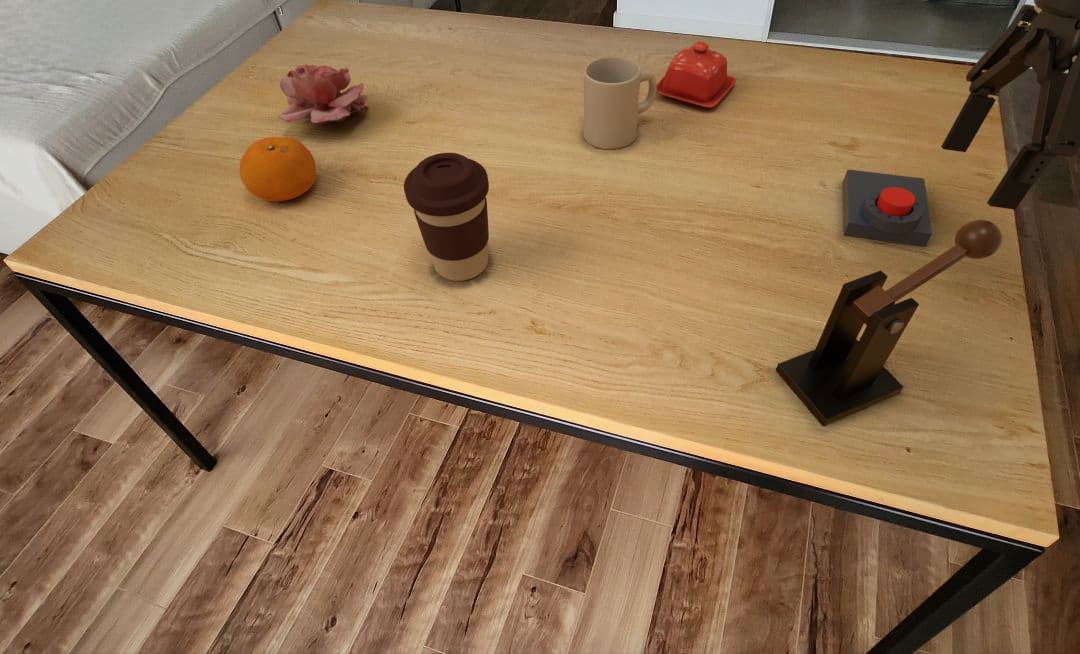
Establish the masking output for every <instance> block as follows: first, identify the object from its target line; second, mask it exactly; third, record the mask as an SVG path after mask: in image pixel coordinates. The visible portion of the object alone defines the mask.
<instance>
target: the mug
mask: <svg viewBox="0 0 1080 654" xmlns="http://www.w3.org/2000/svg"><path fill="white" fill-rule="evenodd" d="M646 81H648V91H647V95H646V98H645V99H644V100H642V101H641V102H640V92H641V91H640V89H641V88H640V87H641V83H643V82H646ZM656 85H657V79H656V75H655V74H654V73H653V71H651V70H649V69H645V70H644V69H643V70H641V67H640V66H639V64H638V63H637V62H635V61H633V60H632V59H630V58H626V57H621V56H619V57H618V56H606V57H600V58H597V59H594V60H592V61H590V62H588V63H587V65H586V66H585V68H584V70H583V131H582V132H583V139H584V140H585V141H586V142H587V143H588V144H589V145H590V146H592V147H594V148H596V149H602V150H619V149H622V148H626V147H627V146H629V145H631V144H632V143H634V141H635V139H636V137H637V133H638V119H639V118H638V117H639V114H642V113H644V112H647V111H648V110H649V109H650V108H651V107H652V106H653V104H654V102H655V99H656V94H657V93H656Z"/></svg>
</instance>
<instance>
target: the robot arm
mask: <svg viewBox="0 0 1080 654" xmlns="http://www.w3.org/2000/svg"><path fill="white" fill-rule="evenodd" d="M1033 3H1034V5H1033V4H1025V3H1024V4H1023V5H1021V7H1020V8H1019V10H1018V11H1017V13H1016V15H1015V17H1014V18H1013V20H1012V21H1011V23H1010V24H1009V25H1008V27H1007V28H1006V29H1005V30H1004V31H1003V33H1002V34H1000V36H999V37H998V38H997V39H996V40H995V42H994V43H993V44H992V45H991V46H990V47H989V48H988V49H987V51H986V52H985V53H984V54H983V55H982V56H981V57H980V58H979V60H978V61H977V62H976V63H975V64H974V65H973V66H972V67H971V68H970V69H969V71H968V72H967V74H966V76H965V80H966V81H965V82H969V83H970V85H969V88H968V92H969V95H968V96H967V98H966V100H965V102H964V105H963V106H962V107H961V109H960V111H959V113H958V115H957V117H956V119H955V121H954V122H953V124H952V126H951V128H950V130H949V131H948V133H947V135H946V136H945V138H944V141H943V142H942V144H941V146H940V148H941V149H943V150H947V151H953V152H960V153H966V152H968V149H969V147H970V146H971V144H972V142H973V141H974V139H975V137H976V136H977V134H978V132H979V130H980V128H981V127H982V125H983V123H984V122H985V121H986V118H987V116H988V115H989V113H990V112H991V109H992V108H993V106H994V105H995V102H996V101H997V100H996V98H995V97H1000V93H1001V92H1000V90H1002V89H1003V88H1004V87H1006V86H1007V85H1008V84H1010V83H1012V82H1013V81H1014V80H1015V79H1017V78H1018V77H1020V76H1021V75H1023V74H1024V73H1025V72H1026V71H1028V70H1030V69H1032V71H1033V72H1034V73H1035V74H1036V82H1037V83H1038V84H1039V85H1040V87H1039V94H1038V99H1037V106H1036V110H1035V111H1036V112H1035V118H1034V123H1033V124H1034V125H1033V130H1032V136H1031V143H1027V144H1025V145H1022V147H1021V149H1020V150H1019V152H1018V153H1017V155H1015V156H1016V157H1015V158H1014V160H1013V161H1012V163H1011V164H1010V165H1009V167H1008V169H1007V170H1006V172H1005V173H1004V175H1003V177H1002V178H1001V180H1000V181H999V183H998V184H997V186H996V188H995V189H994V191H993V192H992V194H991V195H990V197H989V198H988V200H987V202H986V203H987V204H988V206H989V207H994V208H1001V209H1006V210H1007V209H1008V210H1014V211H1016V210H1017V209H1018V207H1019V205H1020V204H1021V203H1022V201H1023V199H1025V197H1026V196H1027V194H1028V192H1029V191H1030V189H1031V188H1032V186H1034V185H1035V184H1036V183H1037V182H1038V181H1039V179H1040V178H1041V177H1042V175H1043V174H1044V172H1045V171H1046V169H1047V167H1048V166H1049V164H1051V162H1052V161H1053V160H1054V158H1055V157H1057V156H1060V157H1067V158H1074V157H1075V156H1077V154H1078V153H1079V151H1080V0H1033ZM992 96H993V97H992Z"/></svg>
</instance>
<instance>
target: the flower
mask: <svg viewBox="0 0 1080 654" xmlns="http://www.w3.org/2000/svg"><path fill="white" fill-rule="evenodd" d="M349 71H350V70H349V68H348V67H347V66H346V67H345V68H340V69H338V70H337V69H335V68H332V65H330V66H329V65H314V64H310V65H308V64H307V63H306V64H301V65H296V68H295V69H294V70H293V69H291V70H289V71H288V73H287V75H283V76H282V78H281V79H280V81H279V87H280V90H281V92H282V93H283V94H284V95H285V96H286V101H287V103H288V105H289V106H288V107H287V108H285V109H284V110H282V111H281V112H280V113H279V114H278V119H280V120H282V121H286V122H288V123H293V122H299V121H302V120H307V119H308V118H310V121H311V123H312V124H324V123H334V124H336V122H342V121H344V120H345V119H347V118H348V117H349V116H350V115H351V113H356V112H358V111H361V113H366V112H367V111H368V110H369V109H370V107H369V106H368V104H365V103H366V102H367V100H368V98H369V96H368V95H367V94H362V92H363V90H364V87H365V86H364V83H363V82H361V83H359V84H357V85H356V84H355V85H353V86H350V87H349V88H347V87H348V86H349V85H350V83H351V80H352V78H351V75H350V73H349ZM345 89H346V90H345Z"/></svg>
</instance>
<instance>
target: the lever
mask: <svg viewBox="0 0 1080 654" xmlns="http://www.w3.org/2000/svg"><path fill="white" fill-rule="evenodd" d="M1002 242H1003V235H1002V232H1001V229H1000V228H999V227H998V225H996V224H995V223H994V222H991V221H989V220H986V219H976V220H971V221H969V222H967V223H965V224H964V225H962V226H961V227H960V228H959V229H958V230H957V232H956V234H955V238H954V243H955V245H953V246H952V247H950V248H949V249H948V250H945V252H943V253H942V254H940V255H938V256H937V257H935V258H933V259H932V260H930V261H929V262H928V263H926V264H924V265H923V266H921V267H920V268H918V269H917V270H915V271H914V272H912V273H911V274H909V275H908V276H906V277H905V278H903V279H901V280H900V281H898V282H897V283H895V284H894V285H892V286H891V287H889V288H888V289H886V290H885V289H883V287H882V288H881V287H880V286H879V285H878V286H877V287H875V288H874V289H872V290H870V291H869V292H867V293H866V294H864V295H863V296H861V297H860V298H858V299H857V300H855V301H854V302H853V304H854V313H855V315H857V316H858V317H859V318H860V319H861V320H862V321H863V322H864V325H865V326H867V324H868V322H869V320H870V318H871V316H872V314H873V313H874V312H876V311H878V310H881V309H884V308H886V307H889V306H891V305H894V304H896V302H899V301H900V300H901V299H902V298H905V297H906V296H907V295H909V294H910V293H912V292H913V291H915V290H917V289H918V288H919V287H921V286H922V285H925V284H926V283H927V282H929V281H931V280H932V279H933V278H935V277H937V276H938V275H940V274H942V273H943V272H944V271H946V270H947V269H949V268H950V267H952V266H954V265H955V264H957V263H958V262H959V261H962V260H963V259H964V258H969V259H973V260H982V259H985V258H988V257H990V256H993V255H994V254H995V253H996V252H997V251H998V250H999V249H1000V248H1001V245H1002Z"/></svg>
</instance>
